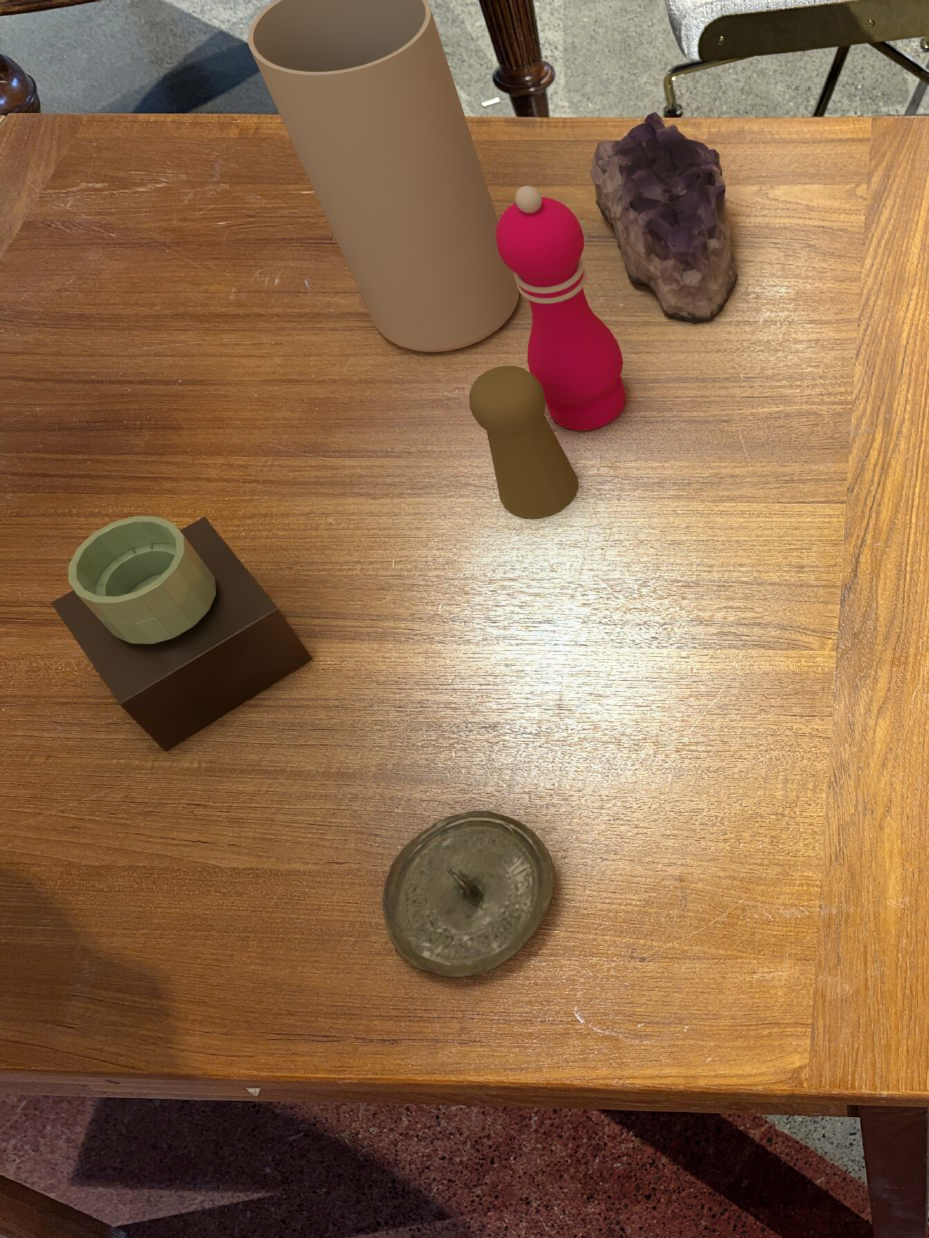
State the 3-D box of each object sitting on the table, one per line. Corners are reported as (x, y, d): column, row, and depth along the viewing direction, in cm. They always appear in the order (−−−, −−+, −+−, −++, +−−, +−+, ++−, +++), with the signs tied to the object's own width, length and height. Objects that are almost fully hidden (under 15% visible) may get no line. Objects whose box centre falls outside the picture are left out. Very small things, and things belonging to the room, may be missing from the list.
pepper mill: (574, 450, 100) (507, 236, 83) (525, 401, 103) (451, 186, 87) (650, 405, 103) (599, 190, 86) (599, 359, 106) (541, 143, 89)
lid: (569, 840, 83) (548, 787, 79) (557, 967, 75) (533, 915, 72) (407, 864, 82) (379, 812, 79) (378, 994, 75) (347, 943, 72)
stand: (165, 752, 85) (119, 704, 80) (97, 653, 90) (50, 602, 85) (313, 659, 89) (278, 608, 84) (241, 569, 94) (204, 515, 89)
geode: (784, 303, 109) (760, 210, 101) (658, 352, 108) (622, 263, 100) (712, 162, 119) (684, 67, 111) (596, 206, 118) (559, 114, 110)
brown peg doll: (491, 474, 99) (448, 367, 90) (566, 450, 100) (532, 342, 91) (510, 528, 96) (467, 424, 87) (588, 503, 97) (554, 397, 88)
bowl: (136, 667, 82) (95, 621, 78) (92, 603, 85) (50, 556, 81) (237, 607, 84) (202, 559, 80) (190, 547, 87) (155, 498, 83)
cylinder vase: (521, 251, 114) (434, -32, 93) (521, 347, 107) (426, 64, 86) (379, 268, 113) (259, -14, 92) (369, 365, 106) (236, 83, 85)
